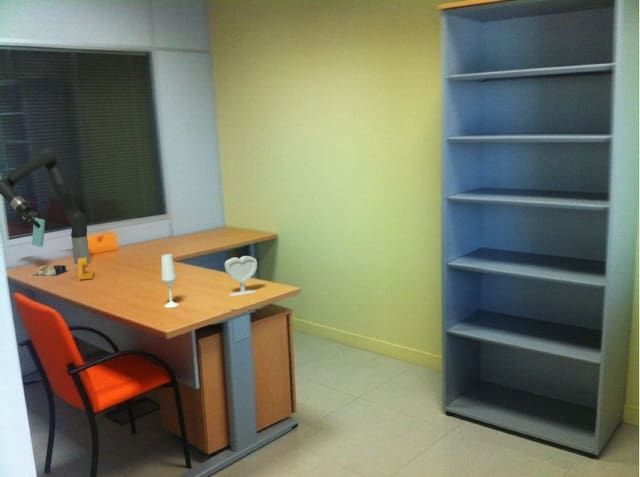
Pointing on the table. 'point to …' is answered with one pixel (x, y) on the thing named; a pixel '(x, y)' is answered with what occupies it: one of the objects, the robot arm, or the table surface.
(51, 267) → the offcut top
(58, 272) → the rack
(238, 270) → the heart sculpture
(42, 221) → the teal rectangular slab
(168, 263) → the champagne flute
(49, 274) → the block
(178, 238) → the table surface
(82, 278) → the bracket
